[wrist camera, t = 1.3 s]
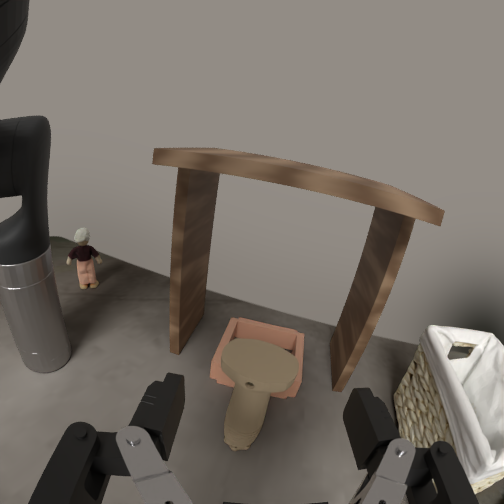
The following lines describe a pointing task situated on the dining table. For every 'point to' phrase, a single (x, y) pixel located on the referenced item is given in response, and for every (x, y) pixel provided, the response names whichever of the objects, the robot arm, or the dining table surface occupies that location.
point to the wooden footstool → (305, 177)
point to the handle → (253, 386)
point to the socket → (264, 333)
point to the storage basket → (457, 400)
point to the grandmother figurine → (84, 259)
